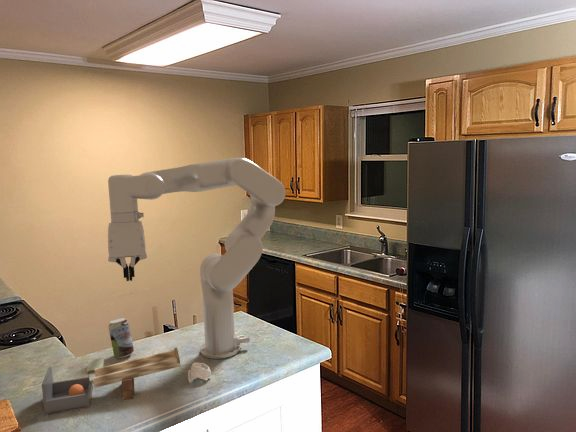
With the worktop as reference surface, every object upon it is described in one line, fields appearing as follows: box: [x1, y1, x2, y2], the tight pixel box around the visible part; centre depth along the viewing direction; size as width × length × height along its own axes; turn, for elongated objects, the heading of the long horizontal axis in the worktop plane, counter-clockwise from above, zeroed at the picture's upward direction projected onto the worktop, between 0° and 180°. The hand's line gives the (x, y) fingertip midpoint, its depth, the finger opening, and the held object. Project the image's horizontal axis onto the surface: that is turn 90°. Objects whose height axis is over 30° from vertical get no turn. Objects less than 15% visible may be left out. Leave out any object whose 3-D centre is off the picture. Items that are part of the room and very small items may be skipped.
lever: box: [86, 347, 182, 388], centre depth 129 cm, size 24×17×4 cm
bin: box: [41, 366, 94, 416], centre depth 120 cm, size 10×10×8 cm
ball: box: [69, 384, 84, 396], centre depth 121 cm, size 4×4×4 cm
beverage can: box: [107, 317, 135, 359], centre depth 146 cm, size 6×7×12 cm
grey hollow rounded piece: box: [187, 362, 212, 384], centre depth 131 cm, size 8×7×5 cm
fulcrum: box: [121, 377, 135, 401], centre depth 125 cm, size 3×10×5 cm, turn 18°
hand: (129, 279), depth 135 cm, fingers closed
